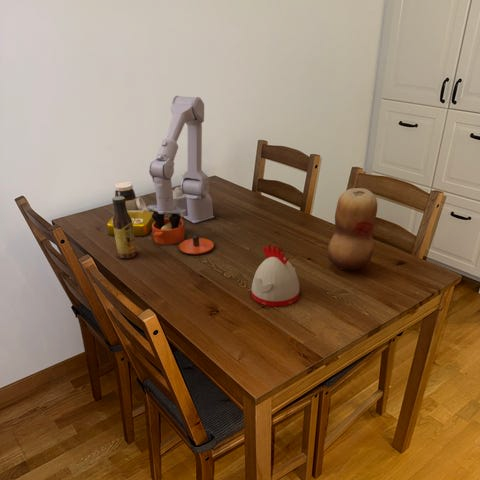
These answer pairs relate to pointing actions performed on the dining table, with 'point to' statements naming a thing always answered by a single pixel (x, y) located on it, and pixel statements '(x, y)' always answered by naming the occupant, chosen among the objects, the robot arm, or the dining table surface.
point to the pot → (168, 233)
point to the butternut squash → (353, 229)
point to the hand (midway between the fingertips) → (168, 232)
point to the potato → (167, 226)
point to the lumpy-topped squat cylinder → (180, 199)
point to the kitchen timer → (275, 280)
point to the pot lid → (196, 245)
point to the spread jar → (129, 196)
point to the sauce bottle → (123, 229)
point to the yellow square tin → (137, 222)
